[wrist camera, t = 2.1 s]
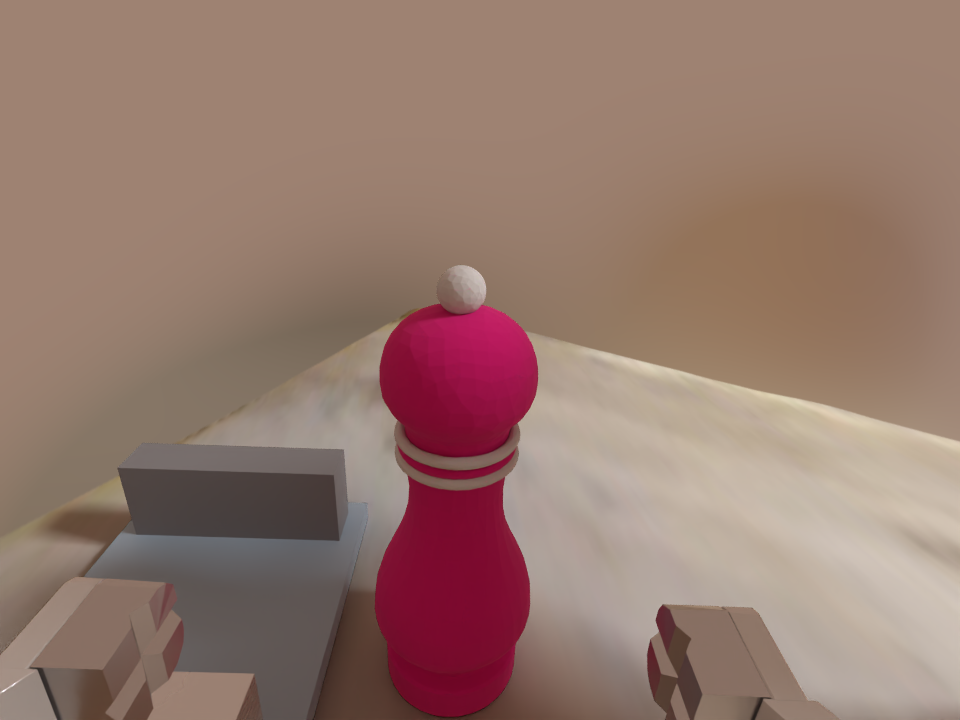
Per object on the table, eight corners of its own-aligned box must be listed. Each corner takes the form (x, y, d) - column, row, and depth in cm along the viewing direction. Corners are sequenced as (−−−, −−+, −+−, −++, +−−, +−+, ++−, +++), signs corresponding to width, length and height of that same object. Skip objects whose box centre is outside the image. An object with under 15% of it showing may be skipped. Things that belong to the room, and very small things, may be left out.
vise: (367, 517, 37) (363, 441, 34) (264, 902, 19) (238, 802, 16) (154, 510, 36) (134, 433, 34) (-153, 894, 19) (-242, 791, 16)
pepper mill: (505, 591, 32) (534, 242, 23) (540, 717, 25) (597, 297, 17) (377, 606, 30) (358, 242, 22) (379, 743, 24) (353, 301, 15)
